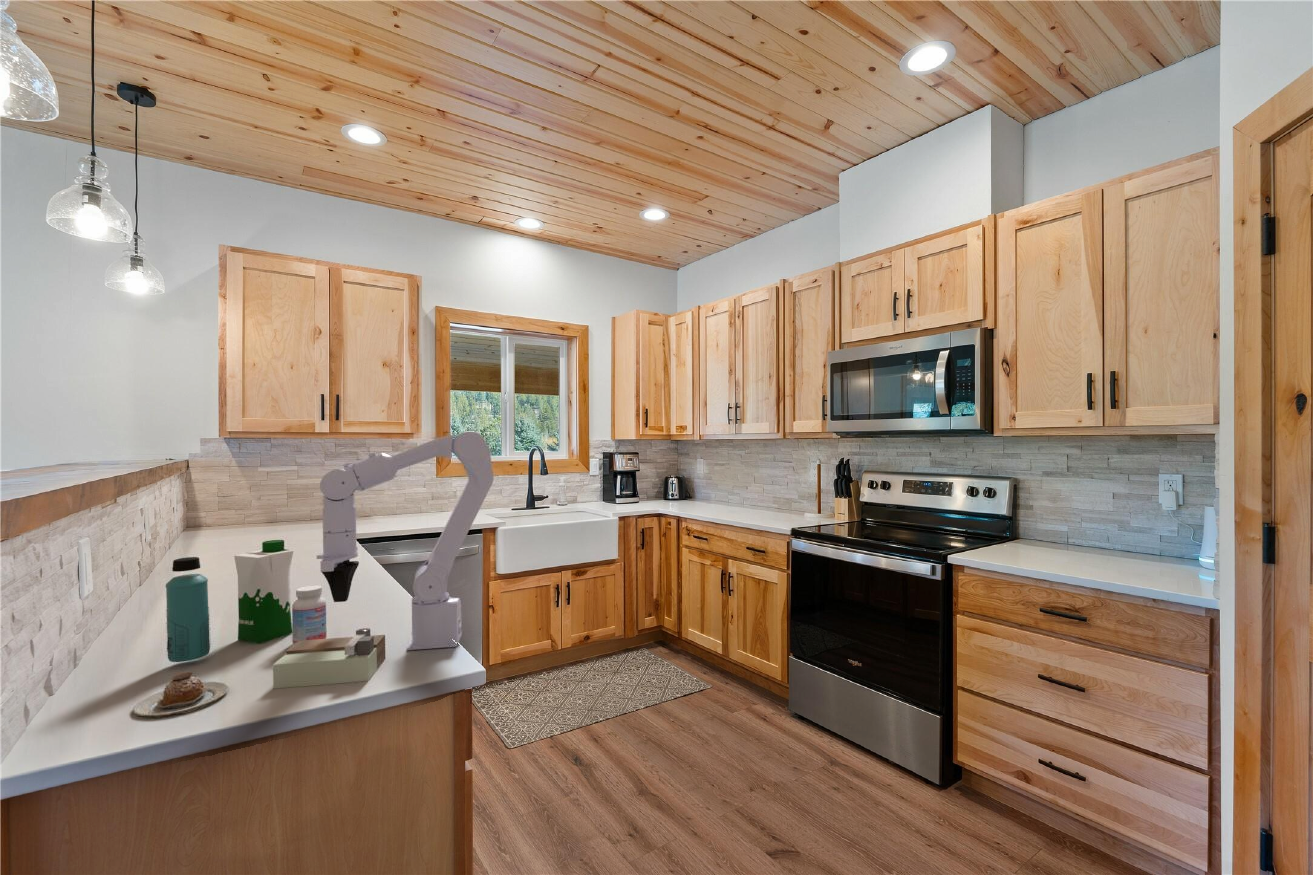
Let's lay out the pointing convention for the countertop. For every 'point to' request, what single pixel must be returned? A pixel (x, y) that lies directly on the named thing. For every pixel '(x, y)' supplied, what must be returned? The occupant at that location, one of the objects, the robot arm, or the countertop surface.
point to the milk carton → (264, 593)
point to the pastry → (180, 695)
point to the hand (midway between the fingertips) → (340, 600)
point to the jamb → (336, 646)
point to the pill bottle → (309, 614)
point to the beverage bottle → (187, 613)
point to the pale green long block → (326, 666)
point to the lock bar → (352, 644)
